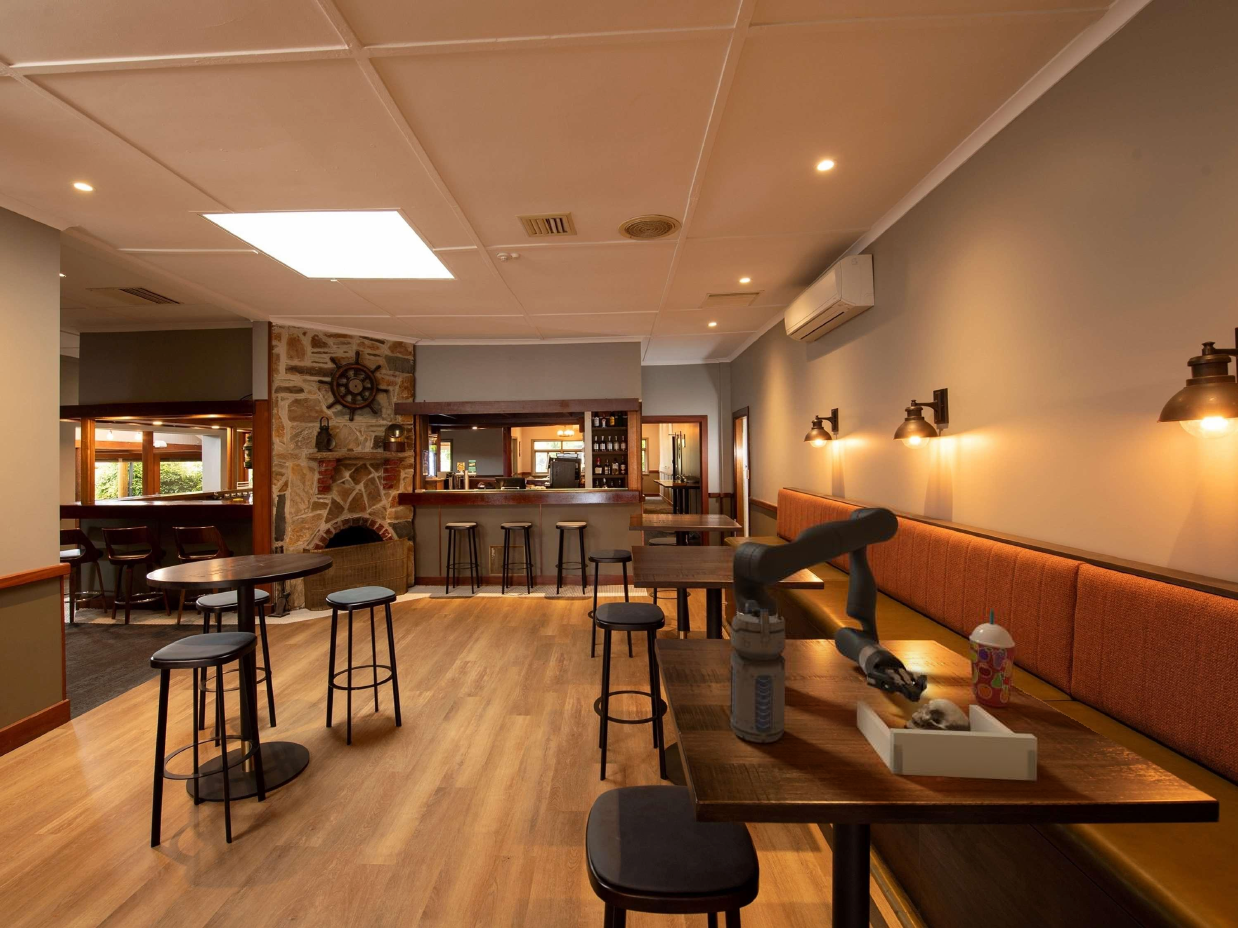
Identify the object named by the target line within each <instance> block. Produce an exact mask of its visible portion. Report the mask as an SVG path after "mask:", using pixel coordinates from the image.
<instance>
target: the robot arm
mask: <svg viewBox="0 0 1238 928" xmlns="http://www.w3.org/2000/svg"><path fill="white" fill-rule="evenodd" d="M898 529H899V521H898V517H897V515H896V514H895V513H894V512H893V511H892V510H890V509H889V508H885V507H877V506H876V507H861V508H856V509H854V510H853V511H852V512H851V513H850V515H849V519H841V520H834V521H827V522H822V523H819V524H816V525H813V526H809V527H807V528H804V529H803V530H802V531H800V533H799V534H798V535H796V538H795V540H794V541H791V542H787V543H784V544H783V543H782V544H777V545H775V544H774V545H772V544H771V545H770V544H765V543H759V542H756V541H755V542H754V541H753V542H752V541H745V542H743V543H741V544H740V545H739V546H737V548H736V549H735V552H734V555H733V559H732V582H733V583H732V584H733V586H732V587H733V597H734V600H735V602H736V617H738V616H742V615H745V604H746V602H747V601H748V600H754V601H756V602H757V603H758V605H759V608H760V609H768V612H769V616H771V617H774V618H776V619H778V602H777V600H776V599H775V597H773V596H772V595H771V594H769V592H768V591H767V589H766V587H765V586H772V585H775V584H778V583H780V582H782V581H783V580H785V579H788V578H789V577H791V576H793V575H794V574H797V573H800V571H803V570H806V569H808V568H812V567H814V566H818V565H820V564H823V563H826V562H829V561H832V560H834V559H837V558H839V557H841V556H844V555H846V554H848V563H849V581H848V592H847V601H846V608H845V612H846V615H847V616H848V617H849V618H850V619H853V620H856V621H857V622H859V624H860V625H861V628H862V629H858V628H854V627H851V626H842V627H841V628H839V629H837V631H836V633H835V634H834V644H835V648H836V650H837V651H838V652H839V654H840V655H842V656H843V657H845V658H846V659H848V660H850V661H852V662H855V663H857V664H858V666H860V667H861V669H862V670H863V672H864V673H865V674H866V685H867V686H869V687H872V688H874V689H877V690H880V691H883V692H884V693H885V692H886V693H888V694H891V695H893V694H895V693H897V694H898V695H899V696H902V697H903V698H904V699H906V700H908V701H909V702H910V703H919V702H920V700H921V695H922V693H924V692H925V690H926V689H927V688H928V675H926V674H920V675H917V676H915V675H914V673H913V672H911V671H909V670H907V668H906V666H905V664H904V663H903V661H902V660H901V659H900V658H899V657H897V656H896V655H894V653H892V652H891V651H890V650H888V649H887V648H886V647H883V646H882V645H881V644H880V639H879V638H880V637H879V634H878V629H877V621H876V620H877V619H876V609H877V601H878V600H877V599H878V585H877V581H876V579H875V576H874V574H873V571H872V570H871V567H870V563H869V560H868V554H867V551H868V546H870V545H874V544H880V543H885V542H888V541H890V540H891V539H893V538H894V537H895V536H896V534H897V532H898ZM758 614H761V612H759V613H758Z"/></svg>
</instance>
